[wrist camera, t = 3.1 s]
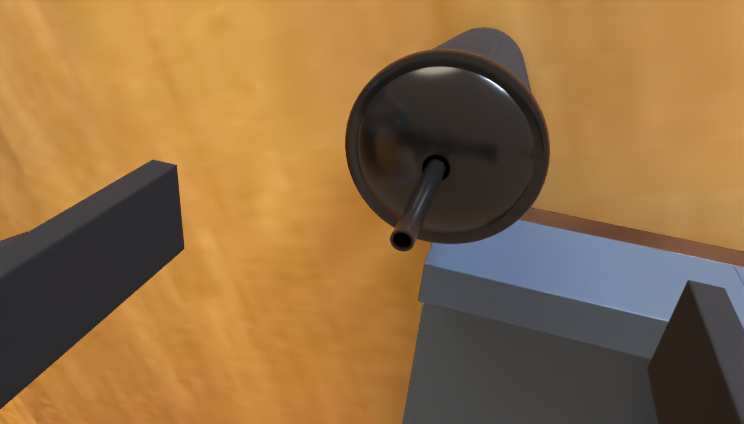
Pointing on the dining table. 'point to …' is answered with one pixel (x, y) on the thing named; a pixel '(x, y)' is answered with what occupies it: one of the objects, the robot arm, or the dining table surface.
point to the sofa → (553, 321)
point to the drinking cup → (449, 141)
